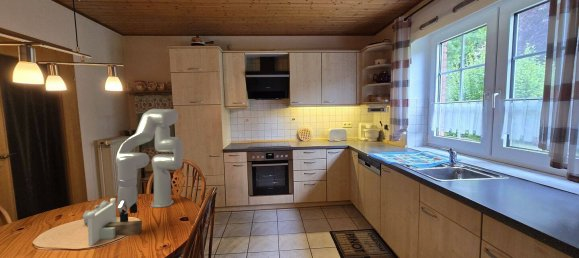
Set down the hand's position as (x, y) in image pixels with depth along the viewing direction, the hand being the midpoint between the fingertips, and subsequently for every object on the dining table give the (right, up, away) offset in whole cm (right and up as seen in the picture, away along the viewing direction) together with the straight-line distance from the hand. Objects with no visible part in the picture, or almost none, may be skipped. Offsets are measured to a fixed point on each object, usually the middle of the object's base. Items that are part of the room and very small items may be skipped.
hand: (129, 217), depth 120 cm
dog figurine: (-23, -7, +11) cm, 26 cm away
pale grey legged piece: (-8, -7, -2) cm, 11 cm away
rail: (-2, -8, -1) cm, 8 cm away
